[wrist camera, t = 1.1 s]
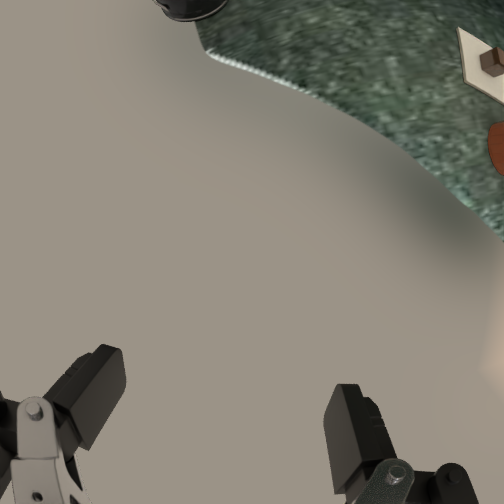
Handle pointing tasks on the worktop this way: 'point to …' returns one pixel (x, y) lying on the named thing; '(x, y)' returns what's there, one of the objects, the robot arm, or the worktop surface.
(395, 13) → the worktop surface
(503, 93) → the lid
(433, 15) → the worktop surface
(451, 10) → the worktop surface
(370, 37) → the worktop surface
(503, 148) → the tumbler
